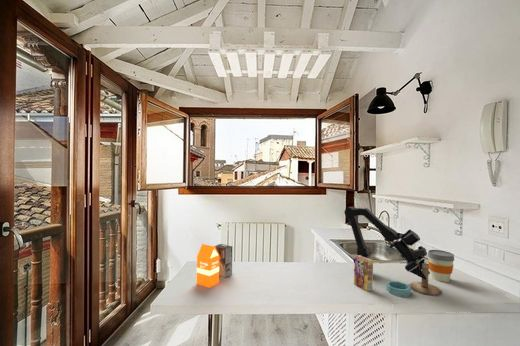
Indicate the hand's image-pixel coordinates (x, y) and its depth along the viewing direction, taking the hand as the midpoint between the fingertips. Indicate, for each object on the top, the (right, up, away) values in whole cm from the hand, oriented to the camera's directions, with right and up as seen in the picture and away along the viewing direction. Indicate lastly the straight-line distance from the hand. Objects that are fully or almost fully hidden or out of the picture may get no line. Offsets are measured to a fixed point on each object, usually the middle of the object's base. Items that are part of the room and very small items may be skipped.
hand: (427, 276), depth 138 cm
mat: (-1, -7, +1) cm, 7 cm away
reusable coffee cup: (+16, -8, +15) cm, 24 cm away
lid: (-1, -7, +1) cm, 7 cm away
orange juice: (-113, -5, +4) cm, 113 cm away
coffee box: (-107, -5, +16) cm, 108 cm away
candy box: (-32, -7, +3) cm, 33 cm away
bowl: (-16, -7, -3) cm, 18 cm away
